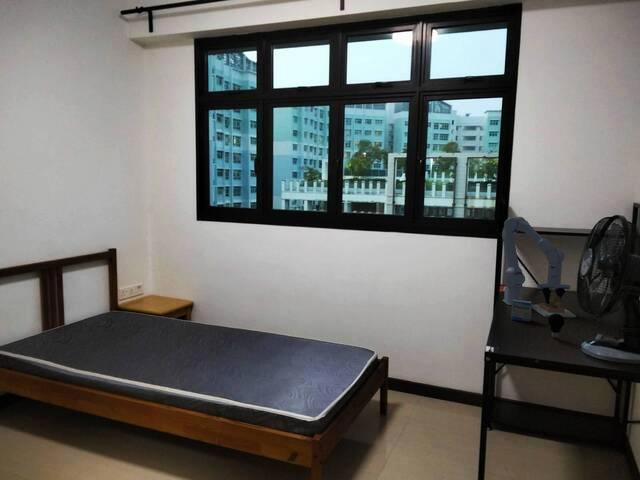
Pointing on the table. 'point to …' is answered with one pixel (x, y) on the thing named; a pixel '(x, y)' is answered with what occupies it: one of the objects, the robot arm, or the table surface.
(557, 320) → the light bulb
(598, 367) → the table surface
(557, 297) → the oak block
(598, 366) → the table surface
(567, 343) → the table surface
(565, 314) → the holder
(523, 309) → the medicine box
